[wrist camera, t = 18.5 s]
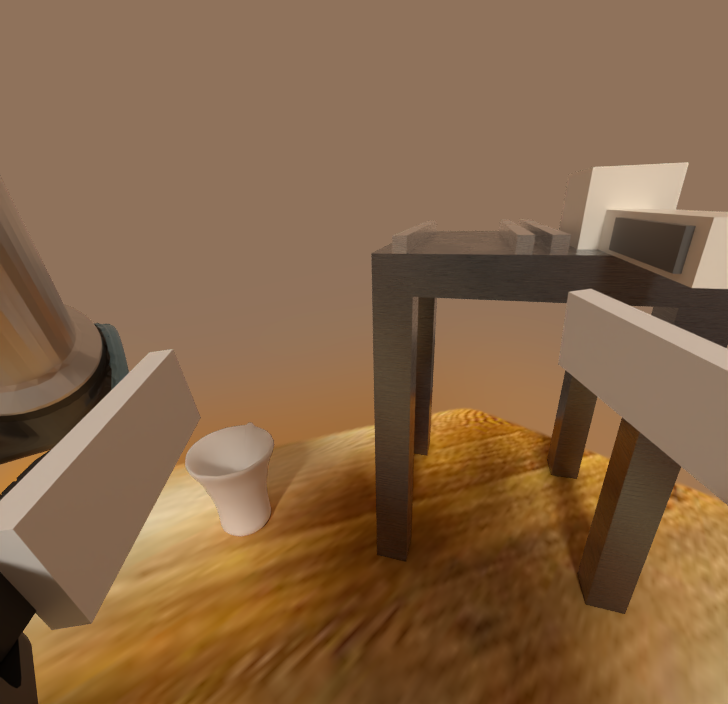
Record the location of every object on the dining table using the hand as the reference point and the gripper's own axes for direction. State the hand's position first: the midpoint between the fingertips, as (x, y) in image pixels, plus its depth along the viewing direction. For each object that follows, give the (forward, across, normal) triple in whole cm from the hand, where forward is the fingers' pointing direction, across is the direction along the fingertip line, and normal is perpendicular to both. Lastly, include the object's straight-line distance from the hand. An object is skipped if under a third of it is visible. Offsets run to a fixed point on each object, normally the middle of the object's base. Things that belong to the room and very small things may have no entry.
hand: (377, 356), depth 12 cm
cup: (+20, -16, -29) cm, 38 cm away
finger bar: (+10, +17, -1) cm, 19 cm away
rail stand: (+18, +12, -31) cm, 38 cm away
